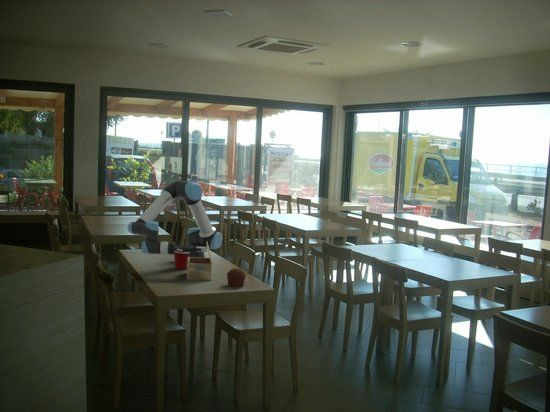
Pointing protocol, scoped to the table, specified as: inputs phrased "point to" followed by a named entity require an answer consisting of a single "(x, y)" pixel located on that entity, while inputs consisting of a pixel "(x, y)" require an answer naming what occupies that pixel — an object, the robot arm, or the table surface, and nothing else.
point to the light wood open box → (199, 268)
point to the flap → (209, 252)
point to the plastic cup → (180, 259)
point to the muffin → (236, 277)
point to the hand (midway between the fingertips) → (206, 249)
